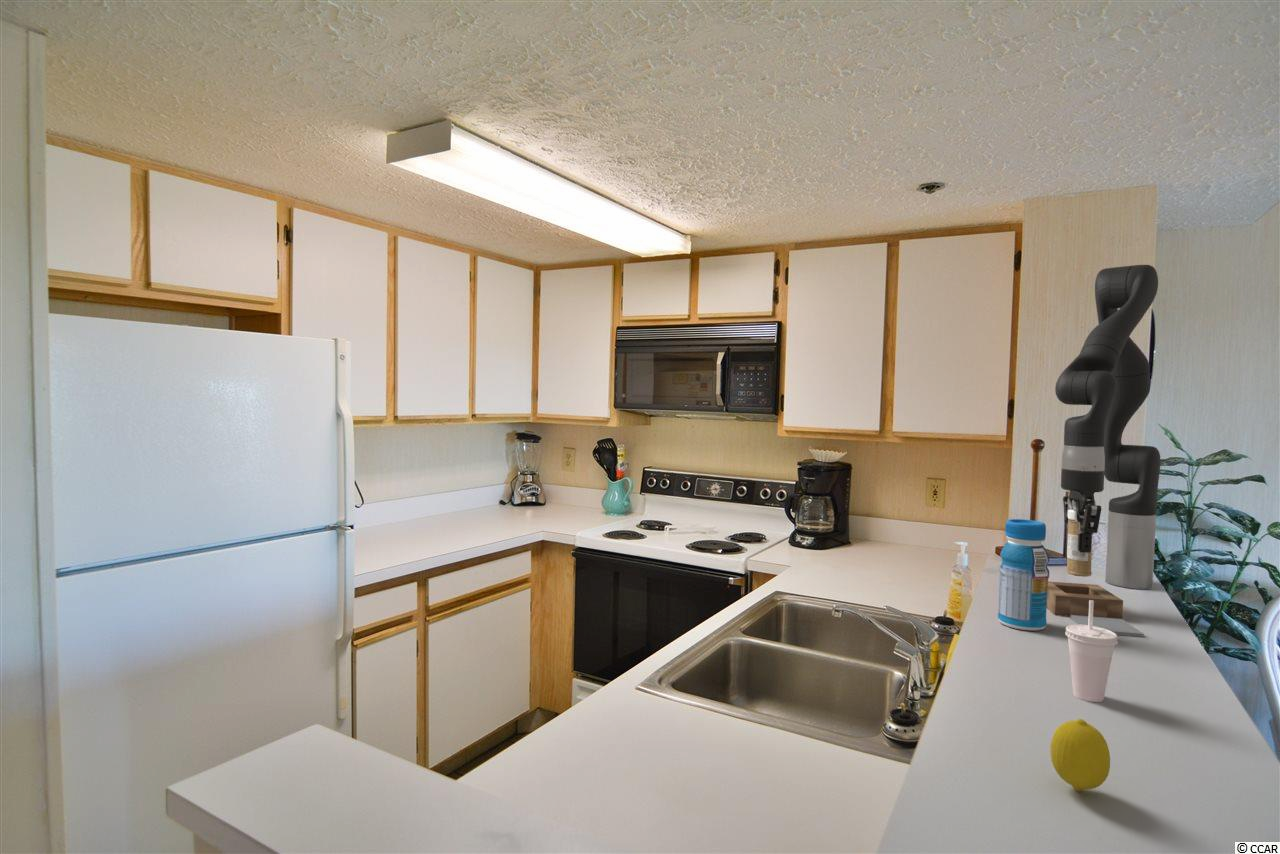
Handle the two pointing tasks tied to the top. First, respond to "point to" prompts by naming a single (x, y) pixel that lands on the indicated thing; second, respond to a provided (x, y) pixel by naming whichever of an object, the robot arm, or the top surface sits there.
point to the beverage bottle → (1024, 576)
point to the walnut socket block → (1082, 600)
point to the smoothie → (1090, 658)
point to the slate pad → (1110, 625)
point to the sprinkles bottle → (1076, 550)
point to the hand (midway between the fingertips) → (1079, 548)
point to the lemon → (1080, 755)
